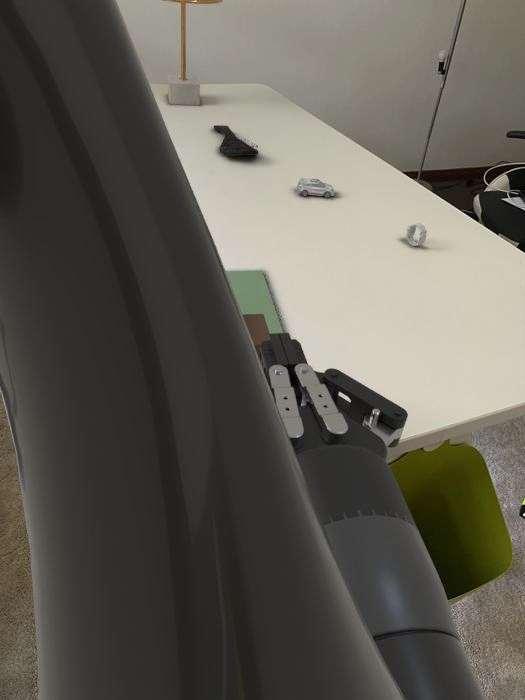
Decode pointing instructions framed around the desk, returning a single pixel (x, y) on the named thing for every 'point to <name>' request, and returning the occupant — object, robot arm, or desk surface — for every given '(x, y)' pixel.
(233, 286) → the mat
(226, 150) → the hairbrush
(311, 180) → the toy car
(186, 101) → the lamp
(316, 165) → the desk surface
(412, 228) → the grey ring
